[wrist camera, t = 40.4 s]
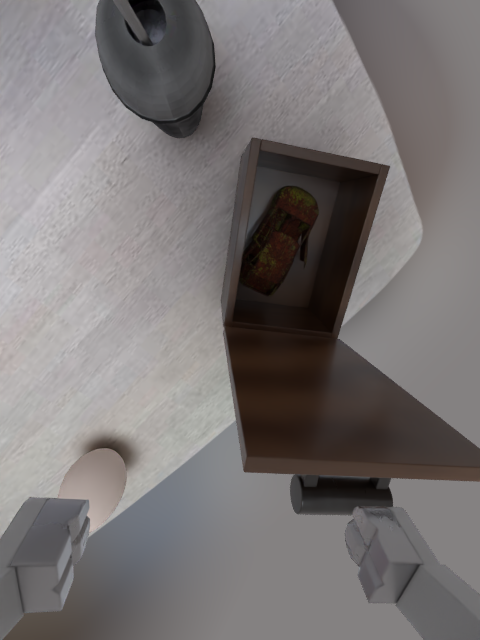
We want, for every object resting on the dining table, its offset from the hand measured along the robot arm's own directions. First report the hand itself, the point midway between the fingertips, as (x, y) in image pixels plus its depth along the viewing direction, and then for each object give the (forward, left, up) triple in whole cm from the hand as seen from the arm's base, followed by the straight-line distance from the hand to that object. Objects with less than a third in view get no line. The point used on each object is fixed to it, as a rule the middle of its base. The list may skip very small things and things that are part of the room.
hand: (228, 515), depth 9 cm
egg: (+29, -13, -29) cm, 43 cm away
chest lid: (+1, +7, -11) cm, 13 cm away
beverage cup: (-17, -6, -29) cm, 34 cm away
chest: (-6, +7, -29) cm, 31 cm away
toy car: (-6, +6, -28) cm, 30 cm away
